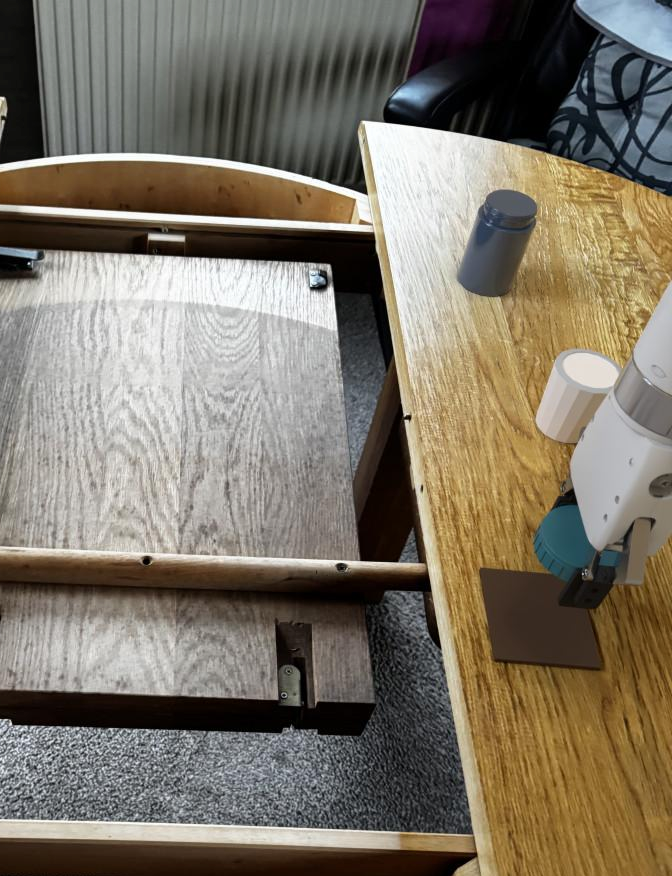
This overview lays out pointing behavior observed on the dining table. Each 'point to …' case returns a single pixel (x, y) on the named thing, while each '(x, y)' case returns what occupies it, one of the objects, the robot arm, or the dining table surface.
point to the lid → (565, 543)
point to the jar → (497, 242)
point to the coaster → (535, 621)
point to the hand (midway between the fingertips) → (568, 567)
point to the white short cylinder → (575, 392)
